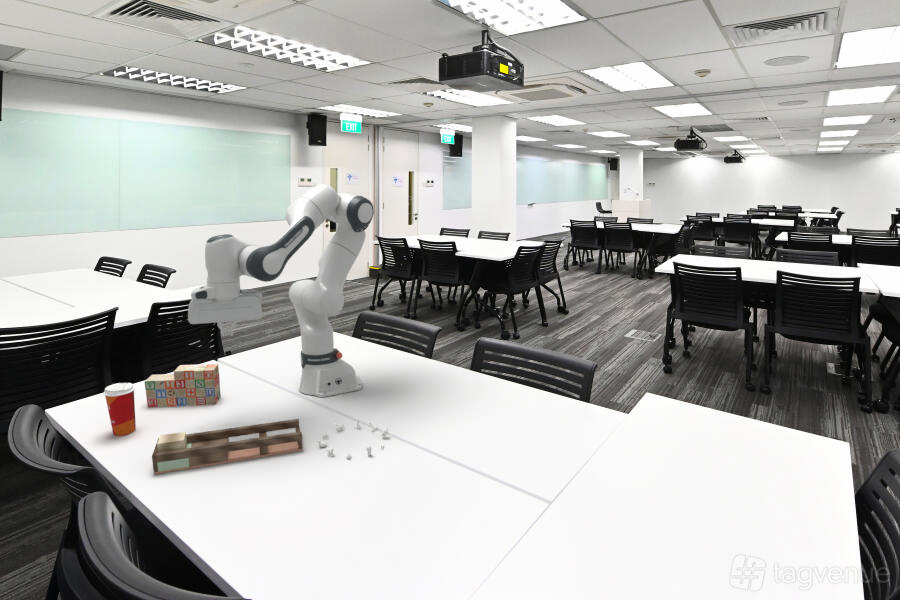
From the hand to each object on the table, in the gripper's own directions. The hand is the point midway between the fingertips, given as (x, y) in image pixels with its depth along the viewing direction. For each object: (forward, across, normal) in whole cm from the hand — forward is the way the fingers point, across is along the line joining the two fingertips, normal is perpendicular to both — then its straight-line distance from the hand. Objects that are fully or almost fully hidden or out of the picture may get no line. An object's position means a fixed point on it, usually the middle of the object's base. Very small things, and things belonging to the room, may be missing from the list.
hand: (227, 335), depth 153 cm
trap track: (+27, 0, +22) cm, 35 cm away
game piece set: (+28, -32, +27) cm, 50 cm away
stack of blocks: (+28, +16, -20) cm, 37 cm away
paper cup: (+27, +30, -2) cm, 41 cm away
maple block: (+24, +14, +22) cm, 36 cm away
